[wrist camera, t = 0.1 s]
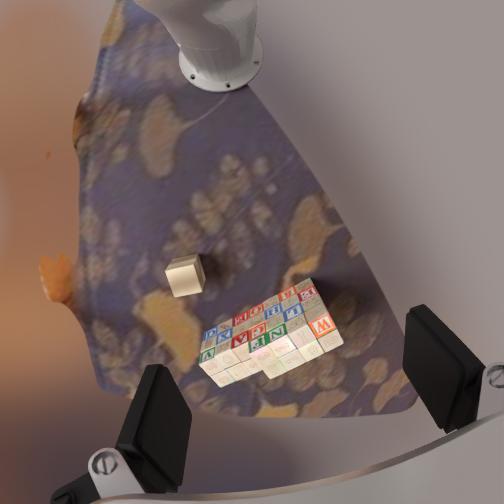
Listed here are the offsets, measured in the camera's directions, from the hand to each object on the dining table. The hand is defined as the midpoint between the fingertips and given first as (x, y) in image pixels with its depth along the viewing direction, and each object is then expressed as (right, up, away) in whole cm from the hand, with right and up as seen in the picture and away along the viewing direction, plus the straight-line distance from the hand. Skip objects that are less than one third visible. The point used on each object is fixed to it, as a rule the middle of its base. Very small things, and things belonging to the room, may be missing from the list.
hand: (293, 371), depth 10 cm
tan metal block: (-12, +2, +38) cm, 40 cm away
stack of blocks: (+1, -7, +42) cm, 42 cm away
